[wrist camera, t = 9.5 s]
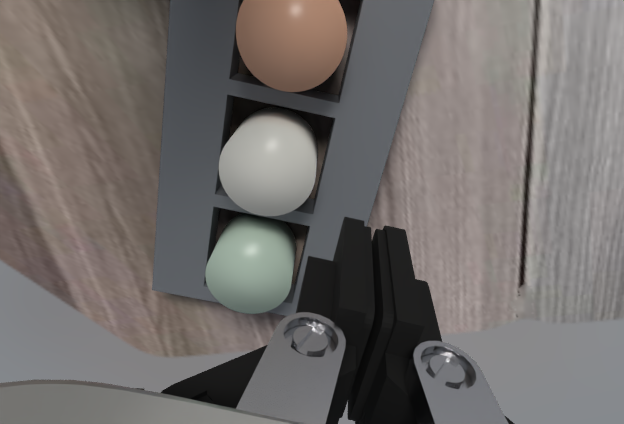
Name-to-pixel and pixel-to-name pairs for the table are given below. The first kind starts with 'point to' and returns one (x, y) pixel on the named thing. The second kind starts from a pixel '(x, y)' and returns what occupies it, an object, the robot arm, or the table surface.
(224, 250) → the sage egg
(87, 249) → the table surface
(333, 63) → the terracotta egg
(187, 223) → the pebble holder tray
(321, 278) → the robot arm
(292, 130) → the cream egg
